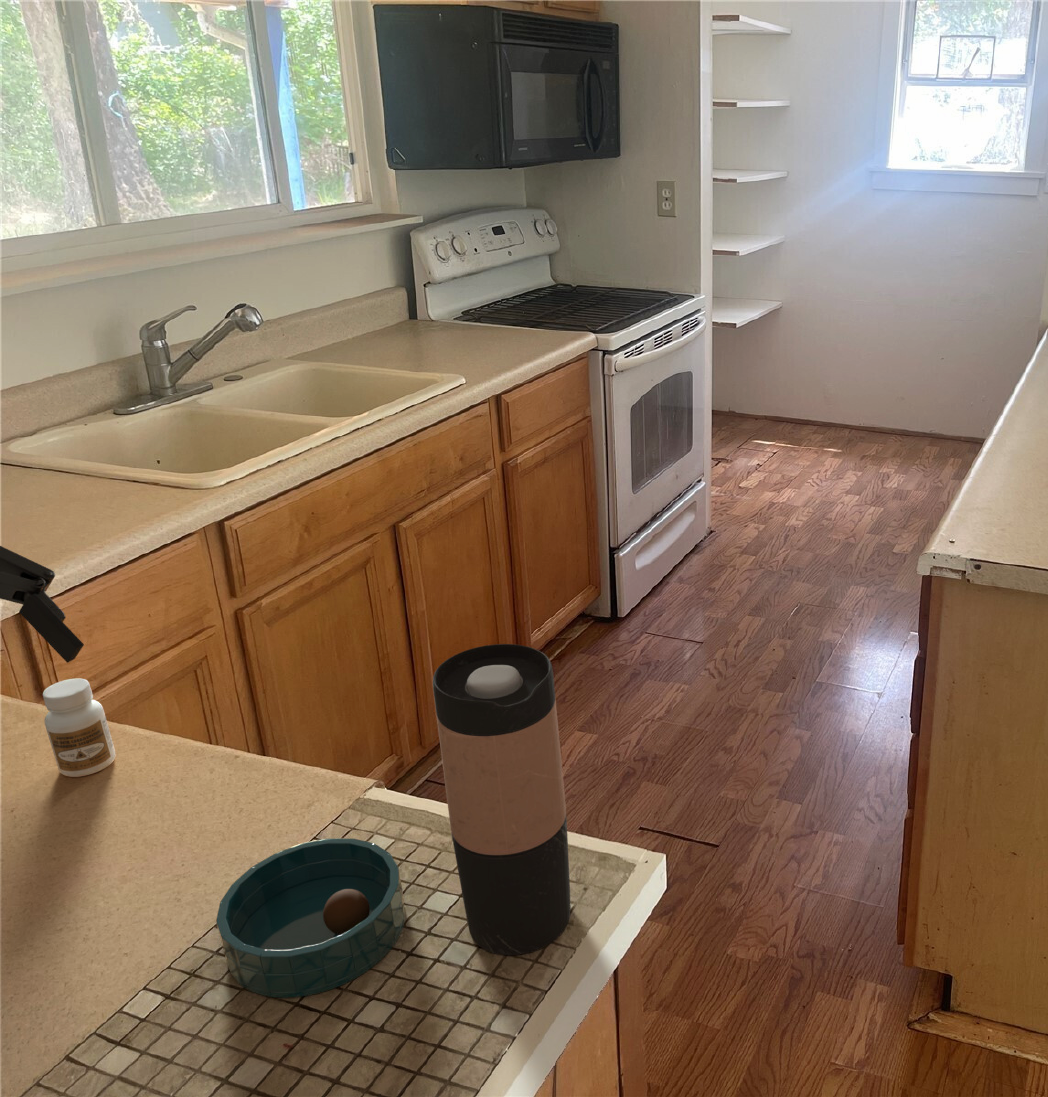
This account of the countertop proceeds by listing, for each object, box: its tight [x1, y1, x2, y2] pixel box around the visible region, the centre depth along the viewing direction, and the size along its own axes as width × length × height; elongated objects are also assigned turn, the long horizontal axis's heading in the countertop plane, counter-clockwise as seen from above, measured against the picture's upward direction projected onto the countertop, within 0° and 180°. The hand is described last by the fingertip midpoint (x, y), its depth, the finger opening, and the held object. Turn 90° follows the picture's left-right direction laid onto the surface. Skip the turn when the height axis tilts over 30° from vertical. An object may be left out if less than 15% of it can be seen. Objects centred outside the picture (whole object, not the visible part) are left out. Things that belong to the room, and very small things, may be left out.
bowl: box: [215, 837, 406, 999], centre depth 71 cm, size 12×12×4 cm
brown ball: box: [323, 889, 370, 935], centre depth 71 cm, size 3×3×3 cm
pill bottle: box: [42, 677, 117, 778], centre depth 89 cm, size 4×4×8 cm
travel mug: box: [432, 643, 571, 956], centre depth 69 cm, size 8×8×20 cm
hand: (6, 689), depth 91 cm, fingers open, 13 cm apart
